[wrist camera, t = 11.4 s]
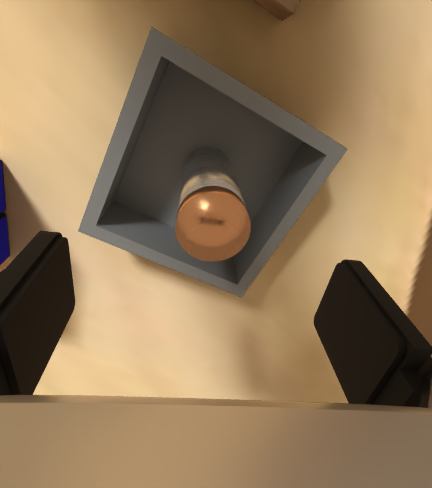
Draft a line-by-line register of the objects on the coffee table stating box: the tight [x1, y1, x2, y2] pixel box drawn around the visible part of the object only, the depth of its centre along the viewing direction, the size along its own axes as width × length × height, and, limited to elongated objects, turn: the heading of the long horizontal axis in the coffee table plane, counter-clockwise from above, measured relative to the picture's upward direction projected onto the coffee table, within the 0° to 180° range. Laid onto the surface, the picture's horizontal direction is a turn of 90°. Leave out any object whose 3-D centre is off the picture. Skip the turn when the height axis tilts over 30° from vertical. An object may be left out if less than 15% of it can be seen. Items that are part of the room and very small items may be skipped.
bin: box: [78, 27, 347, 297], centre depth 24 cm, size 14×14×6 cm
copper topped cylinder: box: [175, 147, 251, 261], centre depth 21 cm, size 4×4×11 cm
